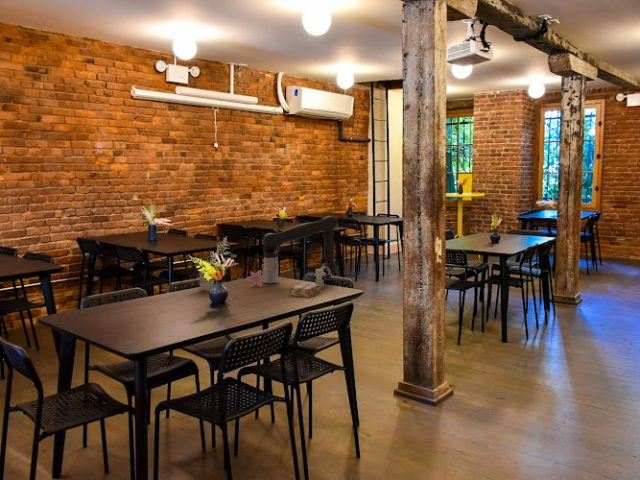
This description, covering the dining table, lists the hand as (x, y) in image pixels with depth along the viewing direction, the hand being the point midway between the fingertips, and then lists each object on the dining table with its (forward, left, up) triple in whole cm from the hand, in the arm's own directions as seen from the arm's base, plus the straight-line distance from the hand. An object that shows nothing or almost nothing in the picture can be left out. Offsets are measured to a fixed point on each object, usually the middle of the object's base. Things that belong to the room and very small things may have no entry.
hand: (318, 277), depth 370 cm
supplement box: (-66, -24, -8) cm, 70 cm away
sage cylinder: (-1, +3, -7) cm, 7 cm away
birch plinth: (-3, -14, -7) cm, 16 cm away
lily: (-45, -3, -8) cm, 45 cm away
